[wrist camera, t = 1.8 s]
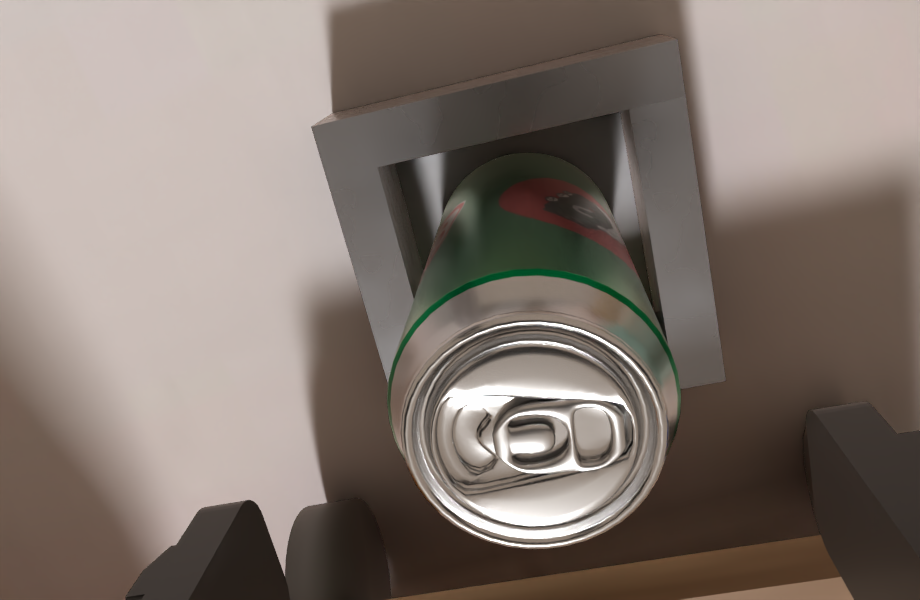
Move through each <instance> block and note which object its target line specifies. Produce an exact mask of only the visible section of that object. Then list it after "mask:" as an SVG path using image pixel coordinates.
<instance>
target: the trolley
mask: <svg viewBox="0 0 920 600" xmlns="http://www.w3.org/2000/svg"><path fill="white" fill-rule="evenodd" d="M803 455H804V465H805V473H806V479H807V485H808V490H809V495H810V499H811V503H812V507H813V511H814V515H815V519H816V522H817V518H816V513H815V507H814V497H813V488H812V478H811V468H810V458H809V448H808V439H807V428H805V431H804V438H803ZM817 525H818V523H817ZM818 529H819V527H818ZM819 532H820V530H819ZM285 579H286V582H287V585H288V589H289V596H290V600H854V599H853V597H852V595H851V593H850V592H849V590H848V588H847V586H846V585H845V583H844V581H843V579H842V577H841V576H840V574H839V572H838V570H837V568H836V567H835V565H834V563H833V561H832V560H831V558H830V556H829V554H828V552H827V550H826V547H825V545H824V542H823V540H822V537H821V534H820V535H816V536H809V537H803V538H796V539H789V540H783V541H776V542H769V543H762V544H756V545H749V546H742V547H736V548H729V549H722V550H715V551H709V552H702V553H695V554H689V555H682V556H675V557H668V558H662V559H655V560H648V561H641V562H635V563H628V564H621V565H615V566H608V567H601V568H594V569H588V570H581V571H574V572H568V573H561V574H554V575H547V576H541V577H534V578H527V579H521V580H514V581H507V582H500V583H494V584H487V585H480V586H474V587H467V588H460V589H453V590H447V591H440V592H433V593H427V594H420V595H413V596H406V597H400V598H393V599H392V598H391V584H390V576H389V568H388V562H387V557H386V552H385V548H384V544H383V540H382V536H381V533H380V530H379V527H378V524H377V522H376V519H375V517H374V515H373V513H372V511H371V510H370V508H369V507H368V505H367V504H366V503H365V502H364V501H363V500H361V499H358V498H354V499H348V500H342V501H337V502H331V503H325V504H319V505H313V506H308V507H305V508H304V509H303V510H301V511H300V513H299V514H298V516H297V517H296V519H295V521H294V524H293V527H292V529H291V533H290V537H289V541H288V547H287V555H286V568H285Z"/></svg>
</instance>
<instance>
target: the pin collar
mask: <svg viewBox="0 0 920 600" xmlns="http://www.w3.org/2000/svg"><path fill="white" fill-rule="evenodd" d="M616 112H620V114H621V120H622V126H623V132H624V138H625V144H626V150H627V156H628V162H629V168H630V173H631V179H632V185H633V191H634V197H635V203H636V209H637V215H638V221H639V227H640V232H641V238H642V244H643V250H644V256H645V262H646V268H647V274H648V280H649V286H650V292H651V297H652V303H653V309H654V313H655V315H656V318H657V320H658V322H659V325H660V327H661V329H662V332H663V334H664V336H665V339H666V341H667V343H668V346H669V348H670V350H671V353H672V356H673V359H674V362H675V365H676V368H677V371H678V376H679V383H680V389H684V388H690V387H696V386H701V385H707V384H713V383H718V382H724V381H726V378H725V371H724V364H723V357H722V350H721V343H720V336H719V328H718V321H717V314H716V307H715V300H714V293H713V286H712V279H711V272H710V265H709V258H708V251H707V244H706V237H705V229H704V222H703V215H702V208H701V201H700V194H699V187H698V180H697V173H696V166H695V159H694V152H693V145H692V138H691V131H690V123H689V116H688V109H687V102H686V95H685V88H684V81H683V74H682V67H681V60H680V53H679V46H678V39H676V38H673V37H669V36H665V35H662V34H659V35H655V36H651V37H647V38H642V39H638V40H634V41H630V42H626V43H622V44H618V45H613V46H609V47H605V48H601V49H597V50H593V51H589V52H585V53H580V54H576V55H572V56H568V57H564V58H560V59H556V60H551V61H547V62H543V63H539V64H535V65H531V66H527V67H522V68H518V69H514V70H510V71H506V72H502V73H498V74H493V75H489V76H485V77H481V78H477V79H473V80H469V81H464V82H460V83H456V84H452V85H448V86H444V87H440V88H436V89H431V90H427V91H423V92H419V93H415V94H411V95H407V96H402V97H398V98H394V99H390V100H386V101H382V102H378V103H373V104H369V105H365V106H361V107H357V108H353V109H349V110H344V111H340V112H336V113H332V114H330V115H329V116H327V117H326V118H324V119H323V120H321V121H319V122H318V123H316V124H315V125H313V126H312V127H311V128H312V131H313V134H314V138H315V141H316V144H317V148H318V151H319V154H320V158H321V161H322V164H323V168H324V171H325V175H326V178H327V181H328V185H329V188H330V191H331V195H332V198H333V201H334V205H335V208H336V211H337V215H338V218H339V221H340V225H341V228H342V232H343V235H344V238H345V242H346V245H347V248H348V252H349V255H350V258H351V262H352V265H353V268H354V272H355V275H356V278H357V282H358V285H359V289H360V292H361V295H362V299H363V302H364V305H365V309H366V312H367V315H368V319H369V322H370V325H371V329H372V332H373V335H374V339H375V342H376V345H377V349H378V352H379V356H380V359H381V362H382V366H383V369H384V372H385V376H386V379H387V382H388V380H389V376H390V372H391V368H392V364H393V360H394V357H395V354H396V351H397V348H398V345H399V342H400V339H401V336H402V333H403V330H404V327H405V324H406V322H407V319H408V316H409V313H410V310H411V307H412V304H413V301H414V298H415V295H416V292H417V289H418V286H419V283H420V280H421V277H422V274H423V272H424V270H423V267H422V263H421V259H420V255H419V252H418V248H417V244H416V241H415V237H414V233H413V229H412V226H411V222H410V218H409V214H408V211H407V207H406V203H405V199H404V196H403V192H402V188H401V184H400V181H399V177H398V173H397V170H396V166H395V163H398V162H403V161H407V160H411V159H416V158H420V157H424V156H429V155H433V154H437V153H442V152H446V151H451V150H455V149H459V148H464V147H468V146H472V145H477V144H481V143H485V142H490V141H494V140H498V139H503V138H507V137H512V136H516V135H520V134H525V133H529V132H533V131H538V130H542V129H546V128H551V127H555V126H559V125H564V124H568V123H572V122H577V121H581V120H586V119H590V118H594V117H599V116H603V115H607V114H612V113H616Z"/></svg>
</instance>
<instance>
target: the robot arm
mask: <svg viewBox="0 0 920 600" xmlns="http://www.w3.org/2000/svg"><path fill="white" fill-rule="evenodd" d="M806 428H807V439H808V448H809V458H810V468H811V478H812V488H813V497H814V507H815V513H816V518H817V523H818V527H819V530H820V534H821V537H822V540H823V542H824V545H825V547H826V550H827V552H828V554H829V556H830V558H831V560H832V561H833V563H834V565H835V567H836V568H837V570H838V572H839V574H840V576H841V577H842V579H843V581H844V583H845V585H846V586H847V588H848V590H849V592H850V593H851V595H852V597H853V599H854V600H920V431H913V432H906V433H900V434H897V433H896V432H895V431H894V430H893V429H892V428H891V427H890V425H889V424H888V423H887V422H886V421H885V420H884V419H883V418H882V416H881V415H880V414H879V413H878V412H877V411H876V410H875V408H874V407H873V406H872V405H871V404H870V403H869V402H867V401H862V402H856V403H850V404H844V405H838V406H832V407H825V408H819V409H813V410H809V411H808V412H807V416H806ZM125 598H126V600H290V596H289V589H288V585H287V582H286V579H285V576H284V573H283V570H282V568H281V565H280V562H279V559H278V557H277V554H276V551H275V548H274V546H273V543H272V540H271V537H270V534H269V532H268V529H267V526H266V523H265V521H264V518H263V515H262V513H261V510H260V509H259V507H258V505H257V504H256V503H255V502H254V501H251V500H246V501H240V502H234V503H228V504H222V505H216V506H210V507H204V508H202V509H200V510H199V511H198V512H197V514H196V515H195V517H194V518H193V520H192V522H191V523H190V525H189V526H188V528H187V529H186V531H185V532H184V534H183V536H182V537H181V539H180V540H179V542H178V543H177V545H175V546H171V547H169V548H168V549H167V550H166V551H165V552H164V553H163V554H162V555H160V556H159V557H158V558H157V559H156V560H155V561H154V562H152V563H151V564H150V565H149V566H148V567H147V568H146V569H144V570H143V572H142V573H141V575H140V576H139V577H138V579H137V580H136V582H135V583H134V585H133V586H132V588H131V589H130V591H129V592H128V594H127V595H126V597H125Z"/></svg>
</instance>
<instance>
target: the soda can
mask: <svg viewBox="0 0 920 600" xmlns="http://www.w3.org/2000/svg"><path fill="white" fill-rule="evenodd" d="M387 405H388V414H389V422H390V425H391V429H392V432H393V436H394V439H395V442H396V444H397V446H398V448H399V450H400V452H401V454H402V456H403V458H404V460H405V461H406V464H407V468H408V470H409V472H410V474H411V476H412V478H413V480H414V483H415V485H416V486H417V488H418V489H419V490H420V492H421V493H422V495H423V496H424V498H425V499H426V500H427V501H428V502H429V503H430V505H431V506H432V507H433V508H434V509H435V510H436V511H437V512H438V513H439V514H440V515H442V516H443V517H444V518H446V519H447V520H448V521H449V522H451V523H452V524H453V525H455V526H457V527H458V528H460V529H462V530H464V531H465V532H467V533H469V534H471V535H473V536H476V537H478V538H481V539H483V540H486V541H488V542H492V543H496V544H500V545H503V546H507V547H515V548H524V549H549V548H556V547H563V546H569V545H572V544H576V543H579V542H583V541H586V540H589V539H591V538H593V537H595V536H598V535H600V534H602V533H605V532H606V531H608V530H609V529H611V528H613V527H614V526H616V525H617V524H619V523H621V522H622V521H623V520H624V519H625V518H627V517H628V516H629V515H630V514H631V513H633V512H634V511H635V510H636V509H637V508H638V507H639V505H640V504H641V503H642V502H643V501H644V500H645V498H646V497H647V496H648V495H649V493H650V491H651V490H652V488H653V487H654V485H655V483H656V482H657V480H658V478H659V475H660V473H661V470H662V468H663V465H664V462H665V458H666V456H667V454H668V452H669V450H670V447H671V445H672V442H673V440H674V437H675V435H676V431H677V426H678V422H679V417H680V406H681V390H680V383H679V376H678V371H677V368H676V365H675V362H674V359H673V356H672V353H671V350H670V348H669V346H668V343H667V341H666V339H665V336H664V334H663V332H662V329H661V327H660V325H659V322H658V320H657V318H656V315H655V313H654V311H653V308H652V306H651V304H650V301H649V299H648V297H647V294H646V292H645V290H644V287H643V285H642V283H641V280H640V278H639V276H638V273H637V271H636V269H635V266H634V264H633V262H632V259H631V257H630V255H629V252H628V250H627V248H626V246H625V243H624V241H623V239H622V236H621V234H620V232H619V229H618V227H617V225H616V222H615V220H614V218H613V215H612V213H611V211H610V208H609V206H608V204H607V202H606V200H605V198H604V196H603V194H602V192H601V191H600V189H599V188H598V187H597V186H596V184H595V183H594V182H593V181H592V179H590V178H589V177H588V176H587V175H586V174H585V173H584V172H583V171H582V170H580V169H578V168H577V167H575V166H574V165H572V164H571V163H569V162H566V161H564V160H562V159H560V158H557V157H554V156H550V155H546V154H540V153H515V154H510V155H505V156H501V157H499V158H496V159H493V160H491V161H488V162H487V163H485V164H483V165H481V166H480V167H478V168H476V169H475V170H474V171H473V172H471V173H470V174H469V175H468V176H466V177H465V179H464V180H463V181H462V182H461V183H460V184H459V185H458V186H457V188H456V189H455V191H454V192H453V194H452V195H451V197H450V199H449V201H448V203H447V205H446V208H445V210H444V213H443V216H442V219H441V222H440V225H439V227H438V230H437V233H436V236H435V239H434V242H433V245H432V248H431V251H430V254H429V257H428V260H427V263H426V266H425V269H424V272H423V274H422V277H421V280H420V283H419V286H418V289H417V292H416V295H415V298H414V301H413V304H412V307H411V310H410V313H409V316H408V319H407V322H406V324H405V327H404V330H403V333H402V336H401V339H400V342H399V345H398V348H397V351H396V354H395V357H394V360H393V364H392V368H391V372H390V376H389V380H388V394H387Z"/></svg>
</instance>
